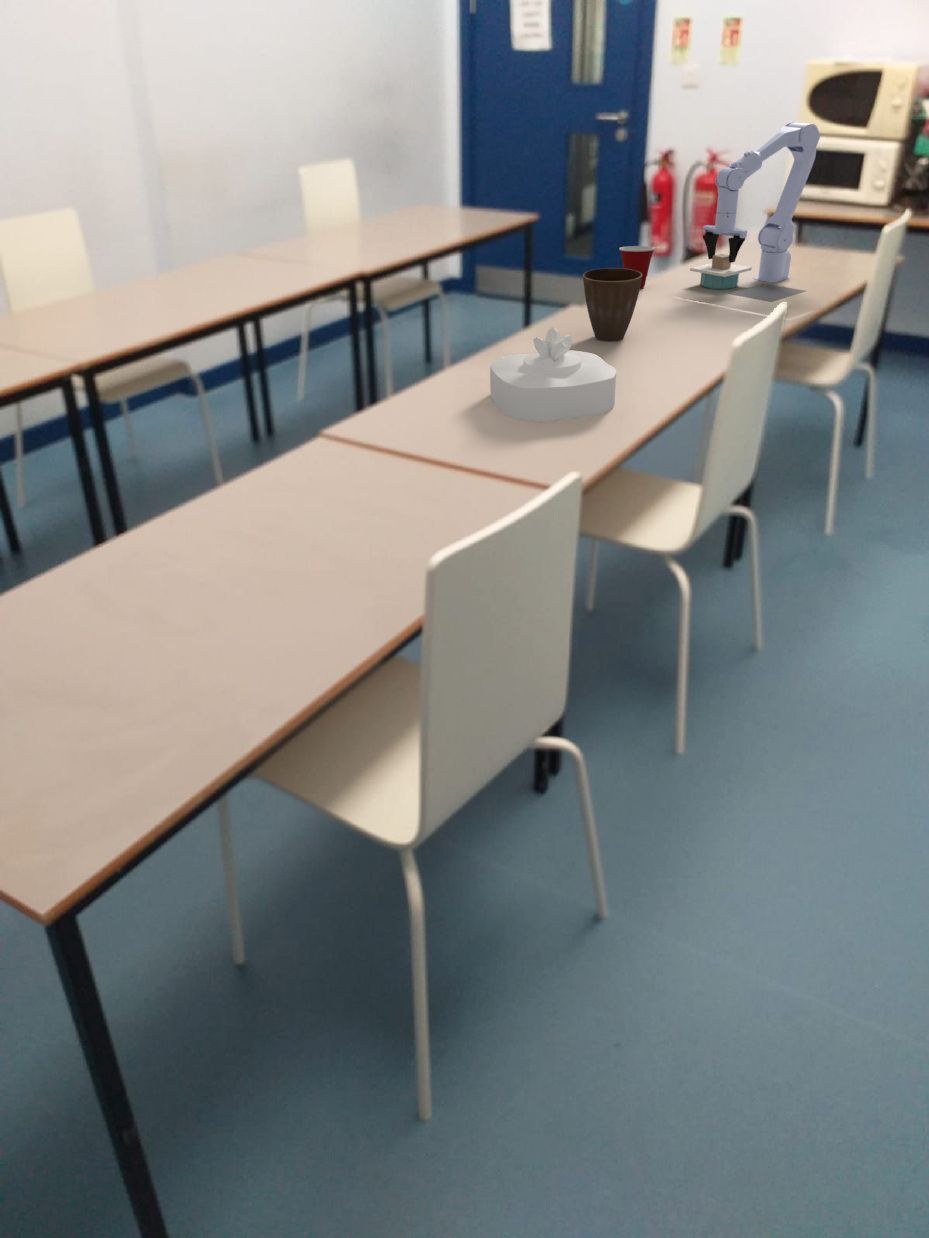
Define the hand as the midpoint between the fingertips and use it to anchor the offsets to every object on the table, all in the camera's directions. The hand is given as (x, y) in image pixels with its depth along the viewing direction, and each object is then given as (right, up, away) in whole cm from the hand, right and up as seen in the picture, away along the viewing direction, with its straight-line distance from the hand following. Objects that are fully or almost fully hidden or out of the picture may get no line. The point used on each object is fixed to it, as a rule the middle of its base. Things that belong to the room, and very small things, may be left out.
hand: (721, 260), depth 294 cm
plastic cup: (-25, -6, +7) cm, 27 cm away
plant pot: (-40, -35, -40) cm, 67 cm away
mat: (+12, -12, -5) cm, 18 cm away
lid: (0, -2, +2) cm, 3 cm away
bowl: (0, -7, +4) cm, 8 cm away
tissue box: (-59, -61, -81) cm, 118 cm away
